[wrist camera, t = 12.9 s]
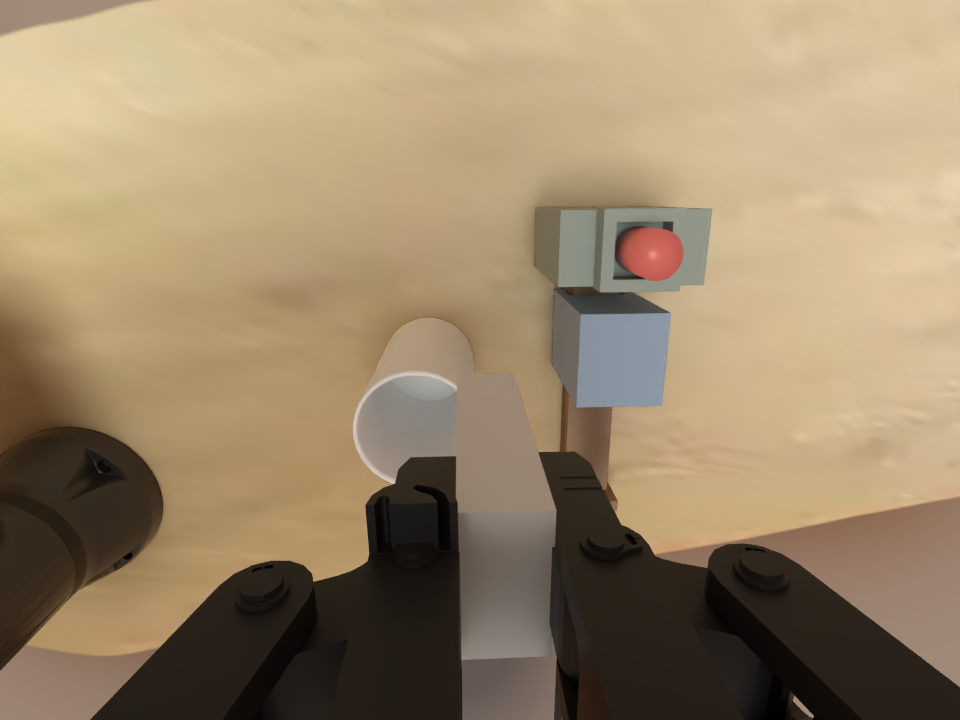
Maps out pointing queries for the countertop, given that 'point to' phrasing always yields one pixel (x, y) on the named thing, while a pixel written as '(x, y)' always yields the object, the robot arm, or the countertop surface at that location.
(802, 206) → the countertop surface
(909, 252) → the countertop surface
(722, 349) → the countertop surface
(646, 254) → the plunger
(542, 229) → the grey upright block
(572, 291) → the rail
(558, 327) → the block
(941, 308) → the countertop surface
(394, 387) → the cup
